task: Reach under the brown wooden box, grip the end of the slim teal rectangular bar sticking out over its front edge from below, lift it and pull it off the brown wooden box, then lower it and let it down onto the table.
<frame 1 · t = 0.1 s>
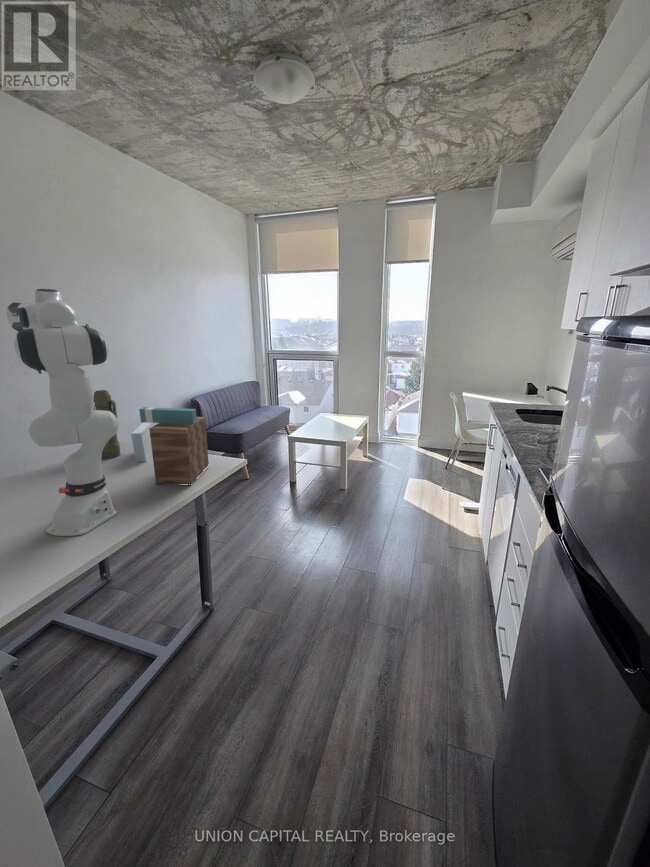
hand: (60, 364, 149), 52 cm above the table, tool tilted 20°, fingers open, 8 cm apart
skincare box: (146, 455, 196), on the table
brown wooden box: (184, 475, 172), on the table
teal rectangular bar: (169, 422, 164), point 26 cm above the table, touching brown wooden box
thermos: (111, 455, 195), on the table
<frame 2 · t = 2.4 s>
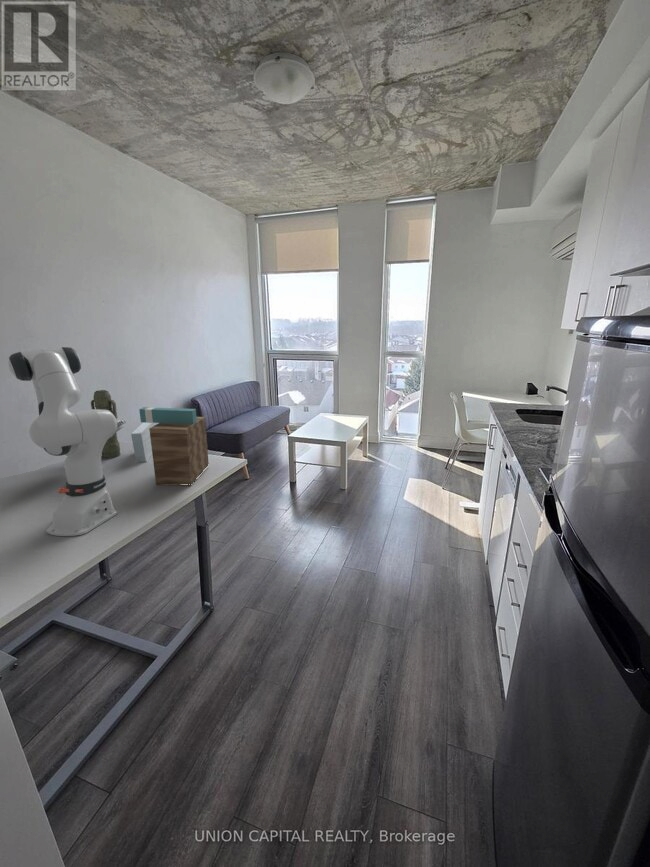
hand: (118, 423, 166), 24 cm above the table, tool pointing upward, fingers open, 8 cm apart
nothing on the table moved.
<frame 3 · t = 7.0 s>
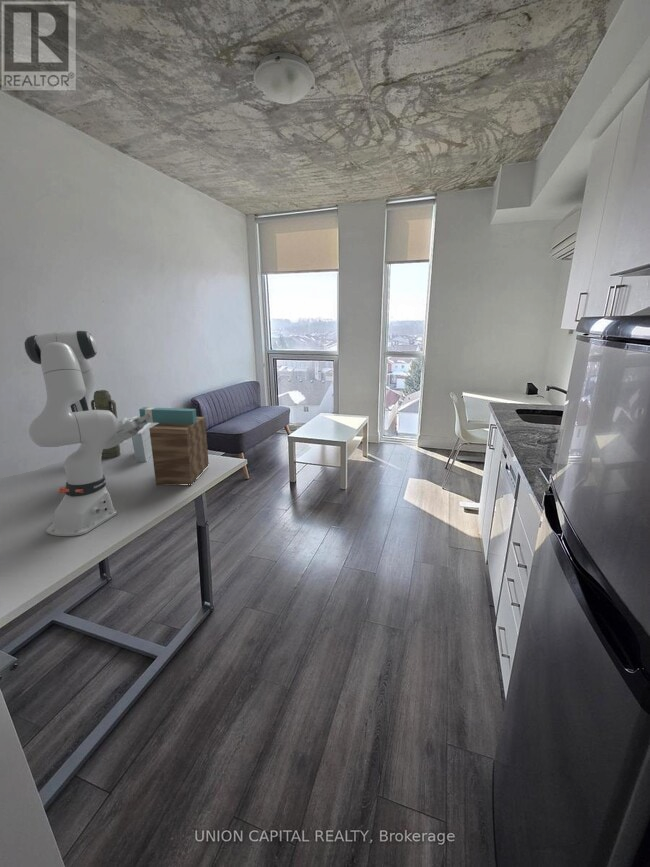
hand: (151, 414, 164), 29 cm above the table, tool pointing upward, fingers closed on teal rectangular bar, 4 cm apart
teal rectangular bar: (169, 422, 164), point 26 cm above the table, touching gripper, brown wooden box
everything else where it was.
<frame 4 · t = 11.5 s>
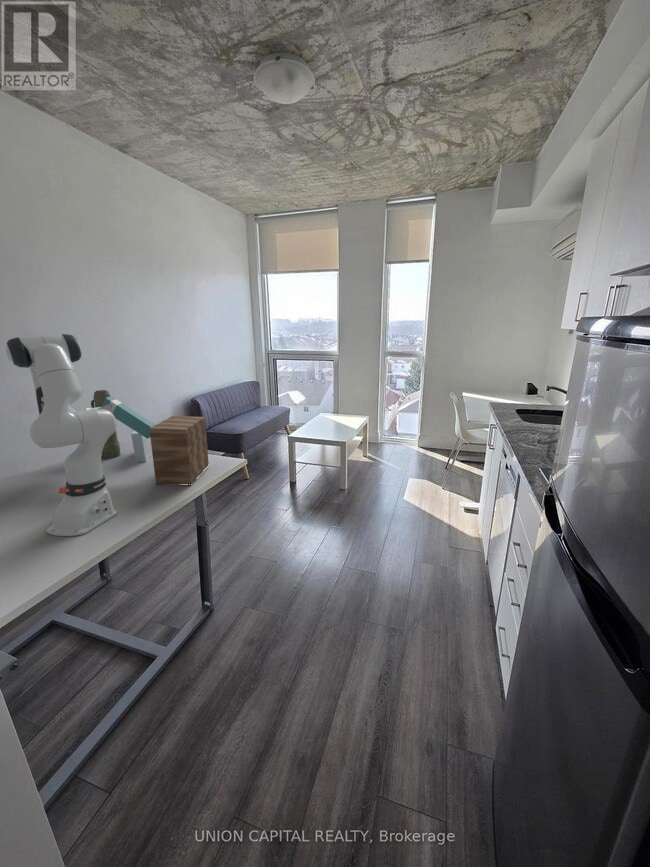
hand: (114, 404, 163), 34 cm above the table, tool pointing upward, fingers closed on teal rectangular bar, 4 cm apart
teal rectangular bar: (126, 422, 165), point 25 cm above the table, tilted 34°, touching gripper
everything else where it was.
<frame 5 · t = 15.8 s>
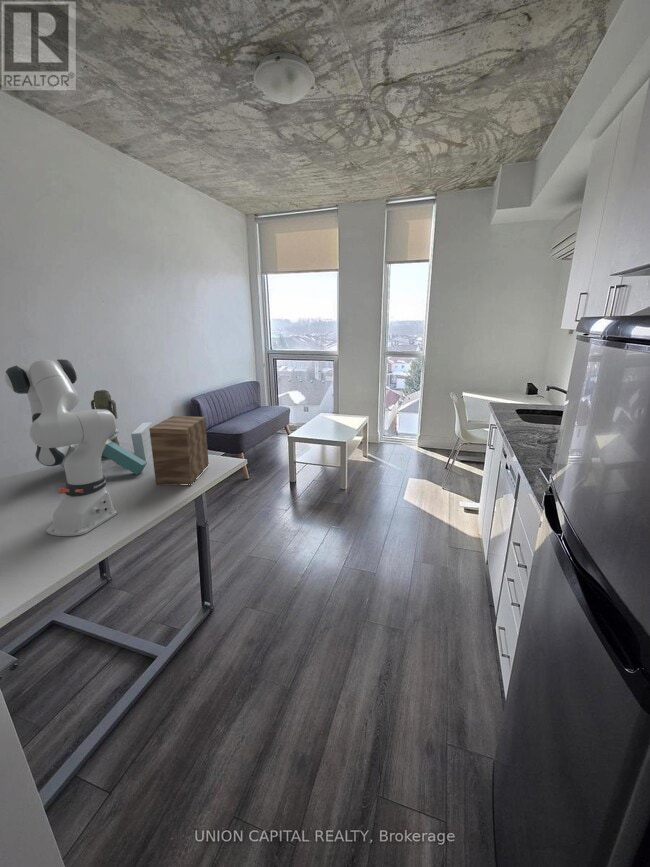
hand: (111, 433, 167), 19 cm above the table, tool pointing upward, fingers open, 7 cm apart
teal rectangular bar: (116, 460, 171), point 6 cm above the table, tilted 33°, touching arm
everything else where it was.
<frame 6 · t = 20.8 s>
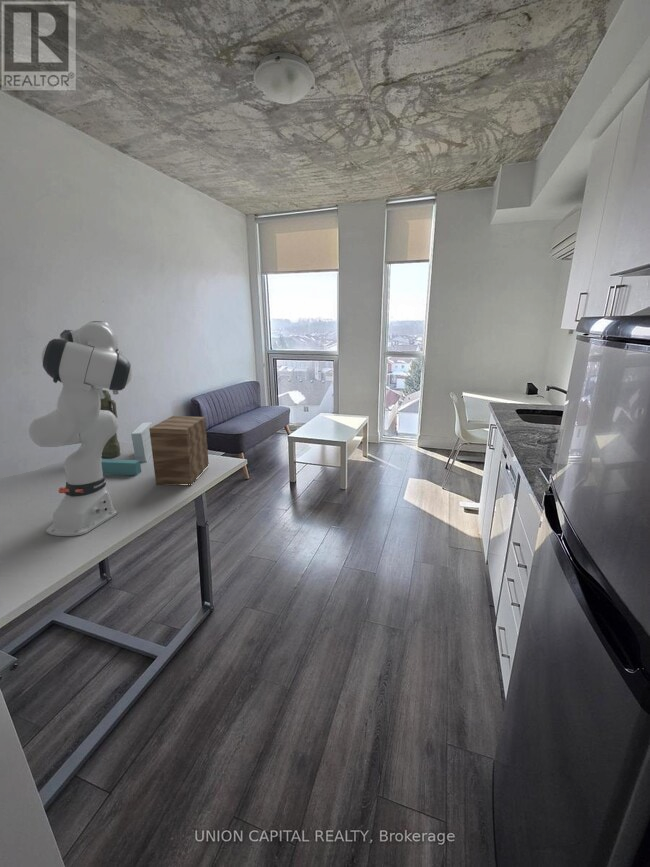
hand: (109, 396, 152), 39 cm above the table, tool pointing down, fingers open, 8 cm apart
teal rectangular bar: (114, 472, 173), on the table
everything else where it was.
at the end: teal rectangular bar inside the target area (7.7 cm from its centre), on the table; teal rectangular bar touching table; the gripper is holding nothing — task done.
